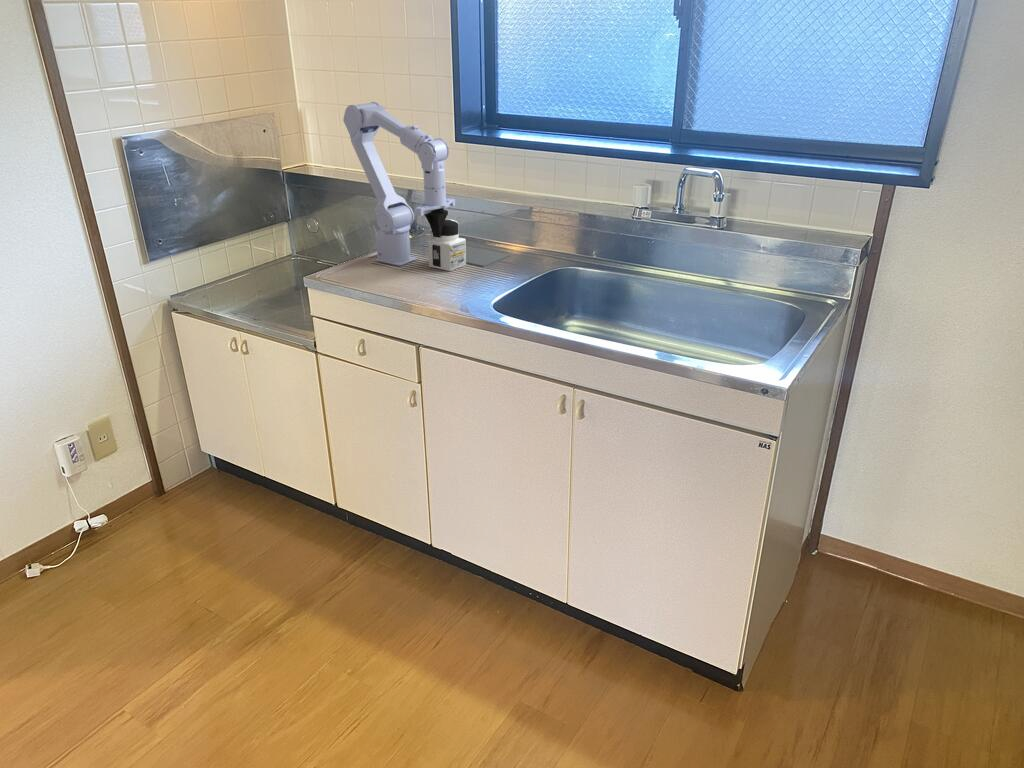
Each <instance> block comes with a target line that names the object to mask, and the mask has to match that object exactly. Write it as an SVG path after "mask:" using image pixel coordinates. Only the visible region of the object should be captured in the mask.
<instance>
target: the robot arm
mask: <svg viewBox="0 0 1024 768" xmlns="http://www.w3.org/2000/svg"><path fill="white" fill-rule="evenodd" d="M342 120H343V121H342V122H343V123H344V125H345V127H346V130H347V131H348V134H349V138H350V142H351V145H352V147H353V149H354V152H355V153H356V156H357V158H358V161H359V162H360V164H361V167H362V169H363V171H364V173H365V177H366V178H367V180H368V182H369V184H370V187H371V189H372V192H373V193H374V196H375V198H376V200H377V203H376V205H375V207H374V209H373V210H374V213H375V215H376V216H375V217H376V221H377V226H378V227H379V230H378V232H377V233H376V237H375V245H376V258H375V262H376V261H377V262H380V263H385V264H390V265H393V266H398V267H400V266H404V265H406V264H409V263H411V262H415V261H416V260H418V258H417V257H416V256H411V243H410V242H411V238H410V230H412V229H411V226H412V224H413V223H414V220H415V216H418V217H423V216H424V217H425V218H426V220H427V222H428V224H429V226H430V229H431V233H432V237H433V238H437V237H438V238H439V237H441V233H442V228H443V224H444V221H445V219H447V216H448V215H449V210H447V209H448V208H449V207H455V206H456V199H455V198H451V197H449V198H447V193H446V191H447V190H446V188H447V187H446V166H445V165H446V164H445V161H446V160H447V159H448V157H449V153H450V152H449V151H450V149H449V146H448V143H447V142H445V141H444V139H442V138H439V137H437V138H434V137H433V136H432V135H430V134H427V133H425V132H423V130H420V129H419V128H420V127H419V125H416V124H414V125H413V124H409V125H407V126H406V125H405V124H404V123H402V122H401V121H400V120H398V119H397V118H396V117H395V116H394V115H392V114H390V113H389V112H388V111H387V110H386V108H385V107H384V105H382V104H381V105H380V104H379V102H375V101H370V102H368V103H360V104H349V105H348V106H347V107H346V108H345V111H344V115H343V119H342ZM380 128H382V129H384V130H386V131H387V132H389V133H391V135H392V134H393V135H395V136H396V137H397V138H399V141H400V144H401V145H402V146H403V147H405V148H406V149H408V150H410V151H411V152H413V153H415V154H416V155H417V157H418V159H419V161H420V163H421V169H422V170H423V173H422V174H423V189H424V194H423V195H424V202H423V203H422V204H421V205H419V206H417V207H415V208H414V209H415V210H414V211H415V213H414V211H413V208H412V207H411V206H410V205H409V204H408V203H407V201H406V199H405V197H402V196H401V195H399V194H397V193H396V191H395V189H394V186H393V184H392V181H391V179H390V177H389V175H388V173H387V171H386V169H385V166H384V165H383V162H382V159H381V158H380V155H379V153H378V151H377V148H376V146H375V144H374V142H373V140H374V137H375V136H376V135H377V133H378V131H379V129H380Z"/></svg>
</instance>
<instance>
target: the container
mask: <svg viewBox="0 0 1024 768" xmlns="http://www.w3.org/2000/svg"><path fill="white" fill-rule="evenodd" d="M459 226H460V225H459V221H457V220H454V219H451V218H446V219H445V221H444V224H443V228H442V233H441V237H439V238H438V237H433V238H431V239H428V242H427V244H428V245H427V247H428V267H430V268H434V269H438V270H443V271H448V272H451V271H453V270H457V269H459V268H462V267H465V266H466V265H467V263H466V246H467V244H466V243H467V240H466V238H463V237H460V235H459V233H460V230H459Z"/></svg>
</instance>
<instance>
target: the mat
mask: <svg viewBox="0 0 1024 768" xmlns="http://www.w3.org/2000/svg"><path fill="white" fill-rule="evenodd" d="M508 256H509V257H511V255H510V254H507V253H503V252H498V251H492V250H488V249H482V248H478V247H474V246H473V247H472V246H467V245H466V265H467V264H468V265H473V266H476V267H481V268H486V267H488V266H489V265H492V264H495V263H497V262H499V261H502V260H504V259H506V257H507V258H509V257H508Z"/></svg>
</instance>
